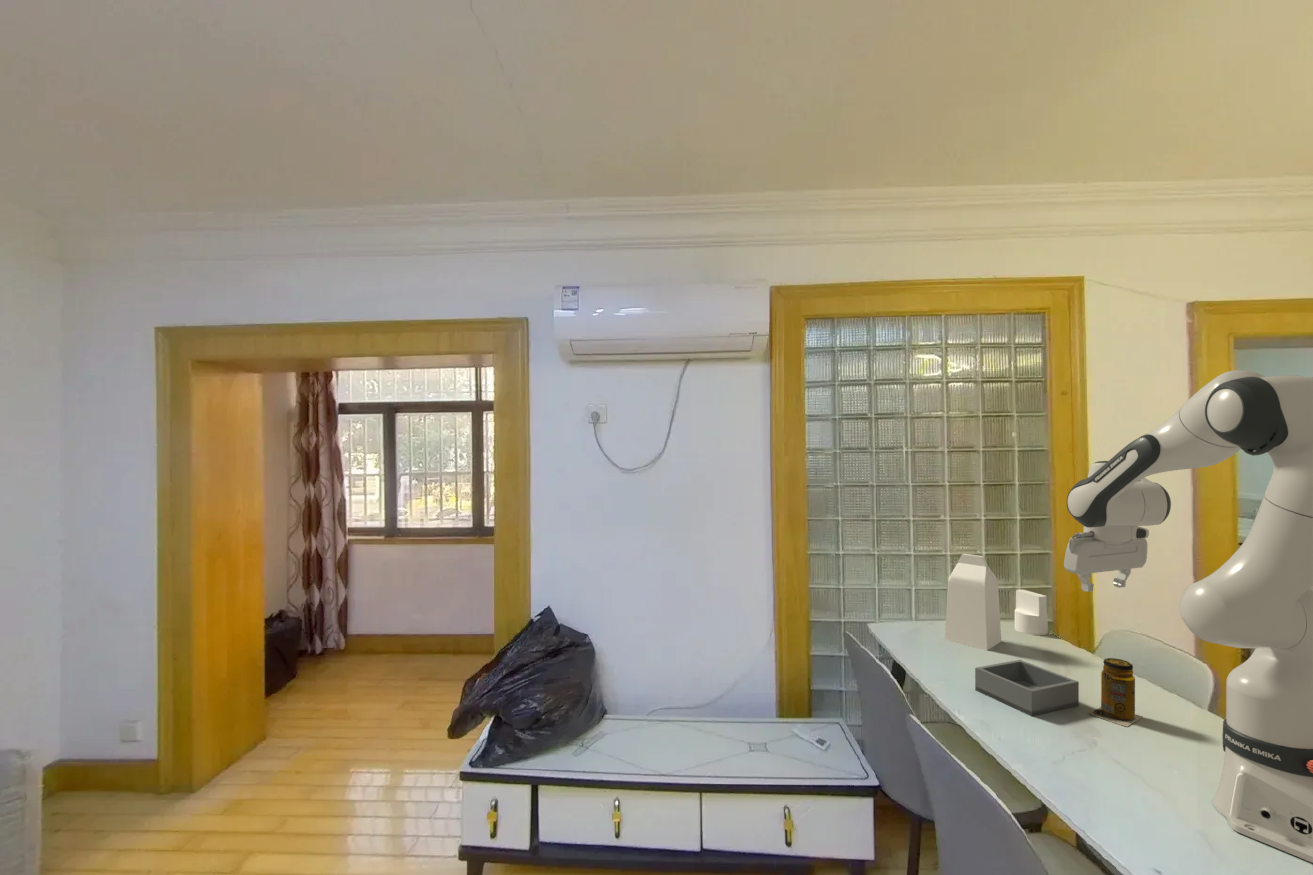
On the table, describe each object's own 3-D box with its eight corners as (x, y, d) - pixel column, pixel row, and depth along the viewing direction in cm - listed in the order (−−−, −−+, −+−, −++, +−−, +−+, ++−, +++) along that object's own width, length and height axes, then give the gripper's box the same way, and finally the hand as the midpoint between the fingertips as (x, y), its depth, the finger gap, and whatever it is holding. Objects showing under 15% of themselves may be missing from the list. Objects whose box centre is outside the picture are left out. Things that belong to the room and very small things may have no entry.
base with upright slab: (1008, 627, 200) (1007, 590, 200) (1029, 625, 203) (1029, 588, 203) (1032, 636, 192) (1032, 597, 191) (1054, 633, 194) (1054, 595, 194)
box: (1078, 705, 143) (1078, 681, 143) (1031, 716, 137) (1031, 691, 137) (1019, 681, 157) (1019, 659, 157) (975, 690, 151) (975, 667, 151)
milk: (944, 640, 188) (944, 555, 188) (960, 632, 196) (960, 550, 196) (986, 650, 179) (986, 560, 179) (1001, 641, 187) (1001, 555, 187)
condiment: (1142, 717, 137) (1142, 663, 137) (1127, 727, 132) (1126, 671, 132) (1104, 705, 143) (1104, 653, 143) (1088, 714, 138) (1088, 661, 138)
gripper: (1083, 537, 136) (1079, 598, 137) (1155, 530, 141) (1150, 589, 142) (1058, 530, 142) (1055, 588, 143) (1127, 523, 147) (1123, 580, 148)
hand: (1103, 588), depth 143 cm, fingers open, 8 cm apart
